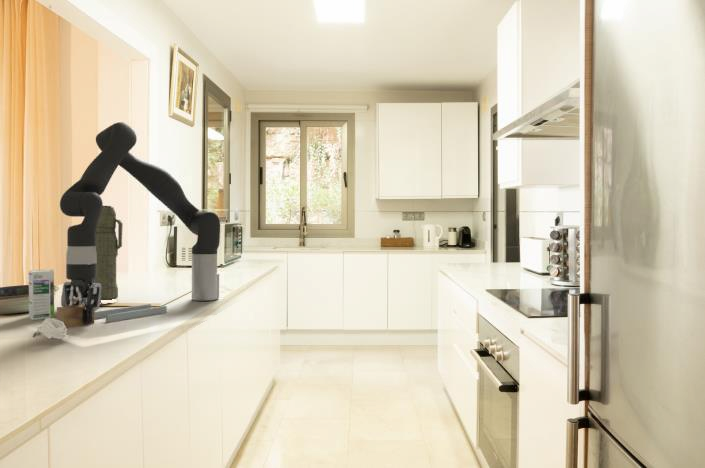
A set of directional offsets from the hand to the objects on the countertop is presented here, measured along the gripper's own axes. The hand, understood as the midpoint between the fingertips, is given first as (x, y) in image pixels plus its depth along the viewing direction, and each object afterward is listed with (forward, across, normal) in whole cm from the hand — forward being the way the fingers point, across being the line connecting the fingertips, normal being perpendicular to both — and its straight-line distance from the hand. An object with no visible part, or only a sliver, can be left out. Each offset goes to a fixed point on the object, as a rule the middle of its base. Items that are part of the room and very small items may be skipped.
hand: (81, 321), depth 138 cm
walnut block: (+1, 0, -2) cm, 2 cm away
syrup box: (+1, -18, -2) cm, 18 cm away
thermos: (+1, -27, +23) cm, 35 cm away
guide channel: (+1, 0, +15) cm, 15 cm away
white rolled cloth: (+1, +11, -14) cm, 18 cm away
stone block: (+1, -18, +10) cm, 21 cm away
